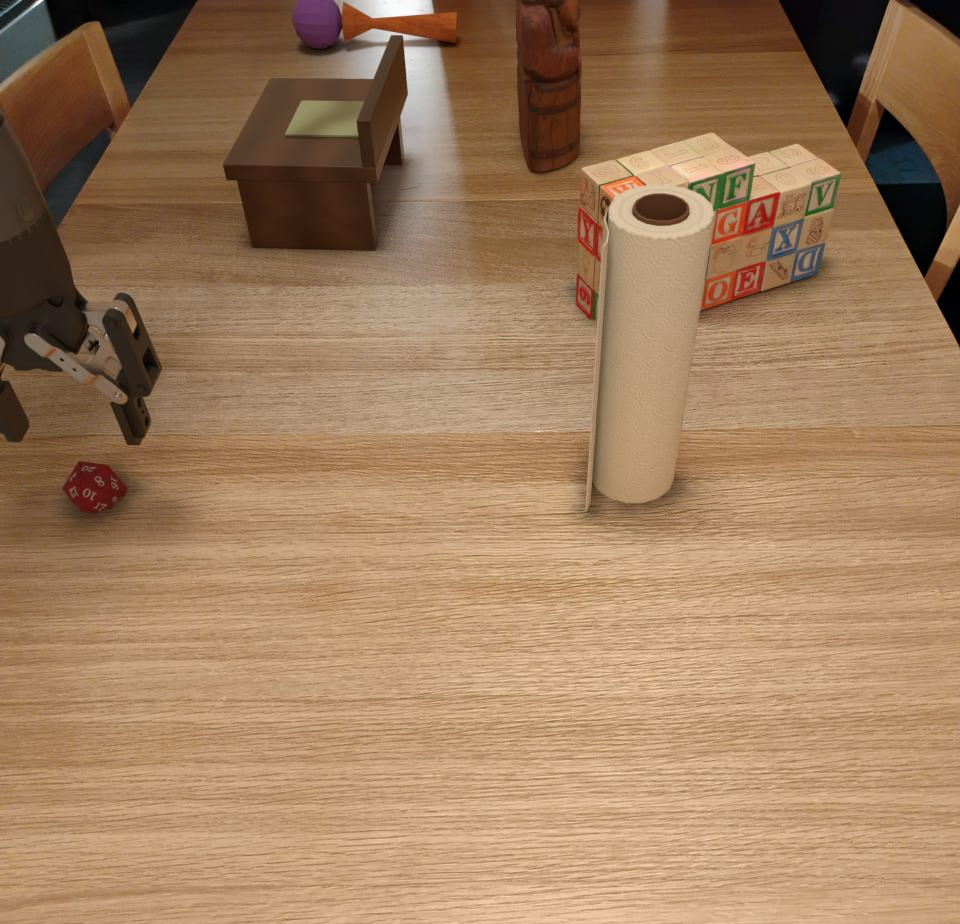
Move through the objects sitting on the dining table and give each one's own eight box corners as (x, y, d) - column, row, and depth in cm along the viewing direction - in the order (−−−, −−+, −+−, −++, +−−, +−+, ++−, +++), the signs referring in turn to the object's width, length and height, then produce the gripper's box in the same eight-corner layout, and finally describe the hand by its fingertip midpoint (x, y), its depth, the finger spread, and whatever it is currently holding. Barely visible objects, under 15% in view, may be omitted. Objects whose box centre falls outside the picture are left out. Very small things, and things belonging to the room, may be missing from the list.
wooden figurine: (584, 172, 103) (593, -28, 89) (522, 176, 103) (521, -24, 88) (571, 120, 110) (578, -73, 96) (513, 124, 110) (511, -69, 96)
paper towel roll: (658, 453, 75) (696, 174, 59) (682, 508, 72) (730, 227, 55) (565, 467, 75) (576, 189, 58) (584, 523, 71) (602, 243, 54)
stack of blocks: (778, 242, 93) (807, 105, 83) (819, 276, 89) (854, 136, 80) (573, 303, 88) (579, 164, 78) (607, 341, 84) (618, 201, 75)
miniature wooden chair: (241, 247, 96) (211, 118, 87) (285, 156, 107) (261, 34, 98) (385, 250, 95) (369, 120, 85) (413, 158, 106) (403, 34, 96)
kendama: (456, 17, 119) (287, 8, 118) (455, 66, 124) (293, 58, 124) (457, -12, 122) (292, -21, 121) (456, 37, 127) (298, 29, 126)
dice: (140, 491, 75) (123, 450, 72) (113, 533, 72) (95, 492, 69) (94, 485, 76) (76, 444, 72) (66, 526, 73) (46, 485, 70)
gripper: (118, 178, 58) (193, 404, 70) (-113, 177, 59) (2, 399, 72) (72, 248, 53) (162, 477, 66) (-177, 245, 54) (-42, 469, 67)
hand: (78, 436), depth 69 cm, fingers open, 8 cm apart
